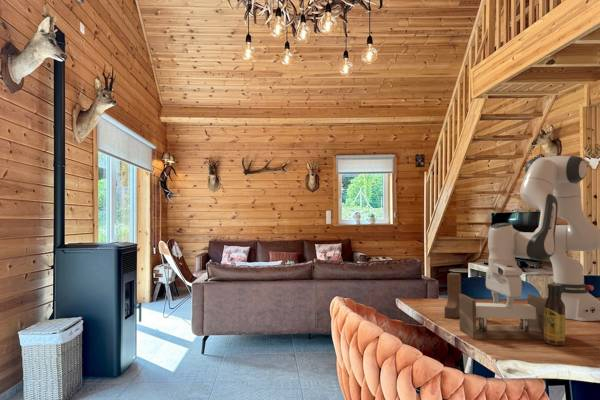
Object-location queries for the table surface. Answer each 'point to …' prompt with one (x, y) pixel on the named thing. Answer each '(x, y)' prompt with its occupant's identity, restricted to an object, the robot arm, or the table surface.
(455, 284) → the wooden block
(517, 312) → the white rectangular block
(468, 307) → the brown open-topped frame
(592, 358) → the table surface
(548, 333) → the sauce bottle
